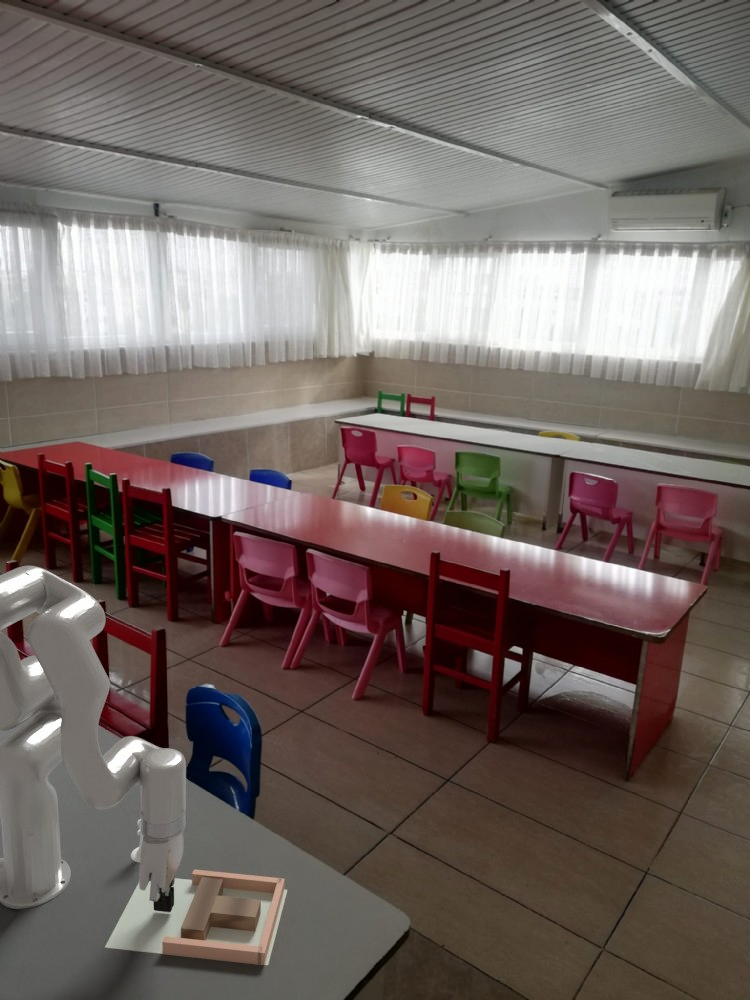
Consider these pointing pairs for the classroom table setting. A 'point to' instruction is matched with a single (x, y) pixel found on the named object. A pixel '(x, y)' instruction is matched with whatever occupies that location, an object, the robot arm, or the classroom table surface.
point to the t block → (218, 911)
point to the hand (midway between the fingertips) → (163, 907)
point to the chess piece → (137, 852)
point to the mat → (182, 920)
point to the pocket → (228, 949)
